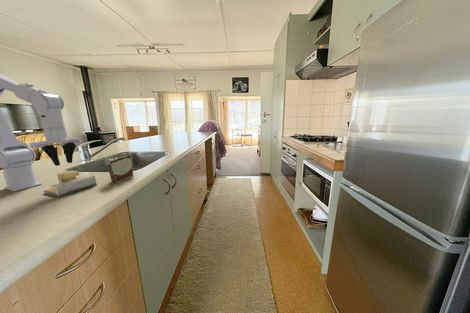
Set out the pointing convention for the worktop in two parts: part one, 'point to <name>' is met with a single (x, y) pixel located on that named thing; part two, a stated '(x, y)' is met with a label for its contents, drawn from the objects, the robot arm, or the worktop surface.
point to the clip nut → (67, 176)
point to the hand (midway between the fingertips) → (63, 164)
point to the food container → (119, 167)
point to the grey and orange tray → (71, 186)
